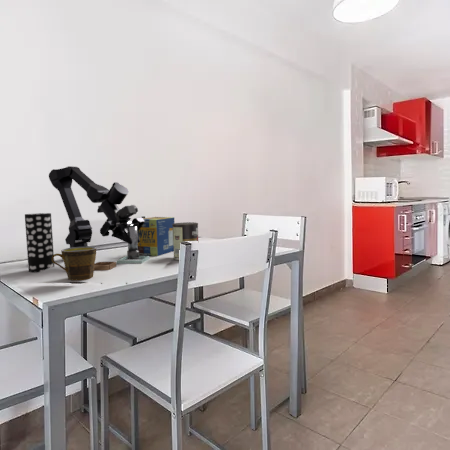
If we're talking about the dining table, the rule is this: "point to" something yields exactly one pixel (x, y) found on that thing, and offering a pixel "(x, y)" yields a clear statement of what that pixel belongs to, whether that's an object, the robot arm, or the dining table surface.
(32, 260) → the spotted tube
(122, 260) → the tray
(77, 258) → the ceramic cup
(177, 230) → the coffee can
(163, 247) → the protein box
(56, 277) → the dining table surface
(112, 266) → the socket block
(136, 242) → the grey cylinder
